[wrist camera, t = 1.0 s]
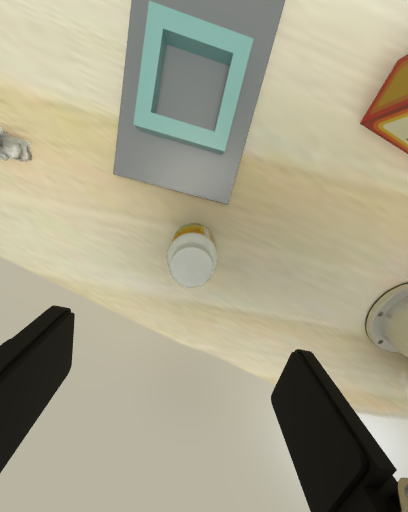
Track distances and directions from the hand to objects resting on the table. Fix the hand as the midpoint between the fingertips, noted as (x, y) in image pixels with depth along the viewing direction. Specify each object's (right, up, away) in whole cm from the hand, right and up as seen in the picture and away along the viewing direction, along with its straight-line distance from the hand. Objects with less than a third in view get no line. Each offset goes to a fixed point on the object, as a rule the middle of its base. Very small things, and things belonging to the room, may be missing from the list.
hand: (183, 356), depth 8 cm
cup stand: (-1, +22, +14) cm, 26 cm away
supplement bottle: (-1, +6, +19) cm, 20 cm away
